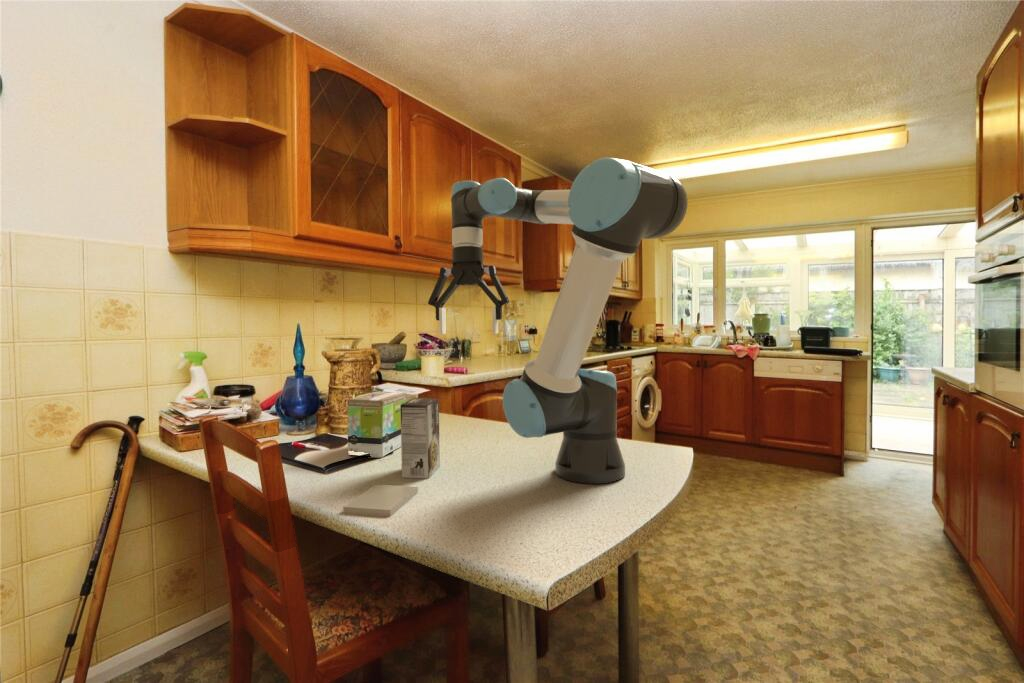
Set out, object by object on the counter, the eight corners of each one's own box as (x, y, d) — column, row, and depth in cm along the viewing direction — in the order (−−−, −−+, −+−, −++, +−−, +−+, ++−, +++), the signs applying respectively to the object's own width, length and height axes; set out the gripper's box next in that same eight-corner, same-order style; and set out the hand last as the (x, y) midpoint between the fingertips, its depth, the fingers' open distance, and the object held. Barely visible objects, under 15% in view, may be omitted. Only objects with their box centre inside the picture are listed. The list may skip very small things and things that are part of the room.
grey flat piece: (417, 487, 96) (390, 510, 84) (417, 495, 96) (390, 519, 84) (375, 484, 98) (343, 506, 86) (376, 492, 98) (343, 515, 86)
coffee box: (414, 465, 114) (413, 397, 114) (440, 466, 114) (439, 397, 113) (400, 478, 105) (399, 403, 105) (429, 478, 104) (428, 404, 104)
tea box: (383, 458, 121) (382, 399, 120) (346, 456, 123) (345, 398, 122) (408, 443, 135) (407, 391, 135) (375, 442, 137) (374, 390, 137)
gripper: (520, 247, 120) (521, 333, 121) (426, 251, 126) (427, 333, 127) (513, 242, 113) (514, 333, 114) (414, 247, 119) (415, 334, 119)
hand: (468, 333), depth 120 cm, fingers open, 13 cm apart
